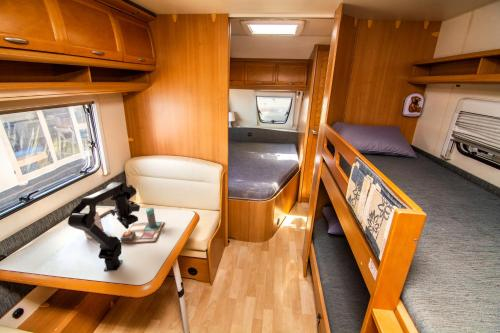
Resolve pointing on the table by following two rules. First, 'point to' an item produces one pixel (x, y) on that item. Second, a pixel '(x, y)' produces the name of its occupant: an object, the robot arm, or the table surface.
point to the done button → (127, 234)
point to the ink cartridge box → (97, 222)
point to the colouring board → (142, 233)
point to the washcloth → (103, 211)
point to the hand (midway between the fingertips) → (127, 228)
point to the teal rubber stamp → (151, 217)
